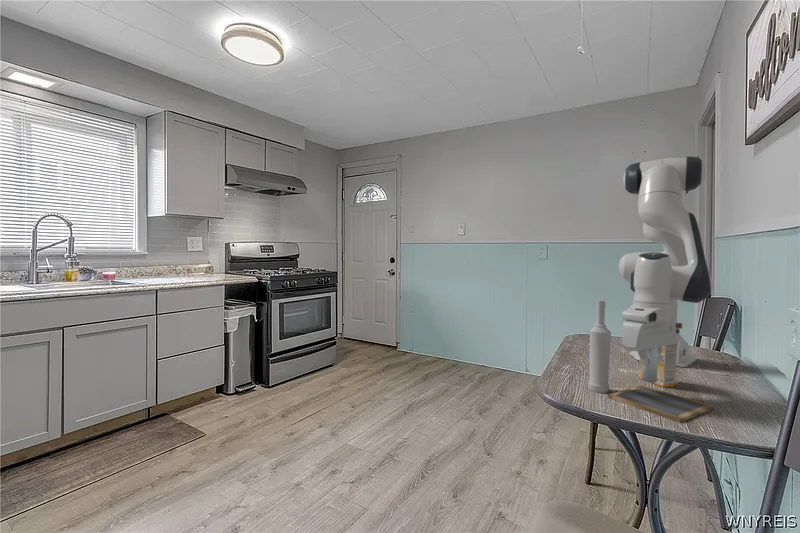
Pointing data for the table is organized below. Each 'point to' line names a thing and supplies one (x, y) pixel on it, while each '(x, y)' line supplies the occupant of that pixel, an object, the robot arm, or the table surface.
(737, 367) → the table surface
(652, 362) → the chalk
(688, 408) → the slate board
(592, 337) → the bottle
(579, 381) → the table surface
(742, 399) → the table surface
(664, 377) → the supplement box
